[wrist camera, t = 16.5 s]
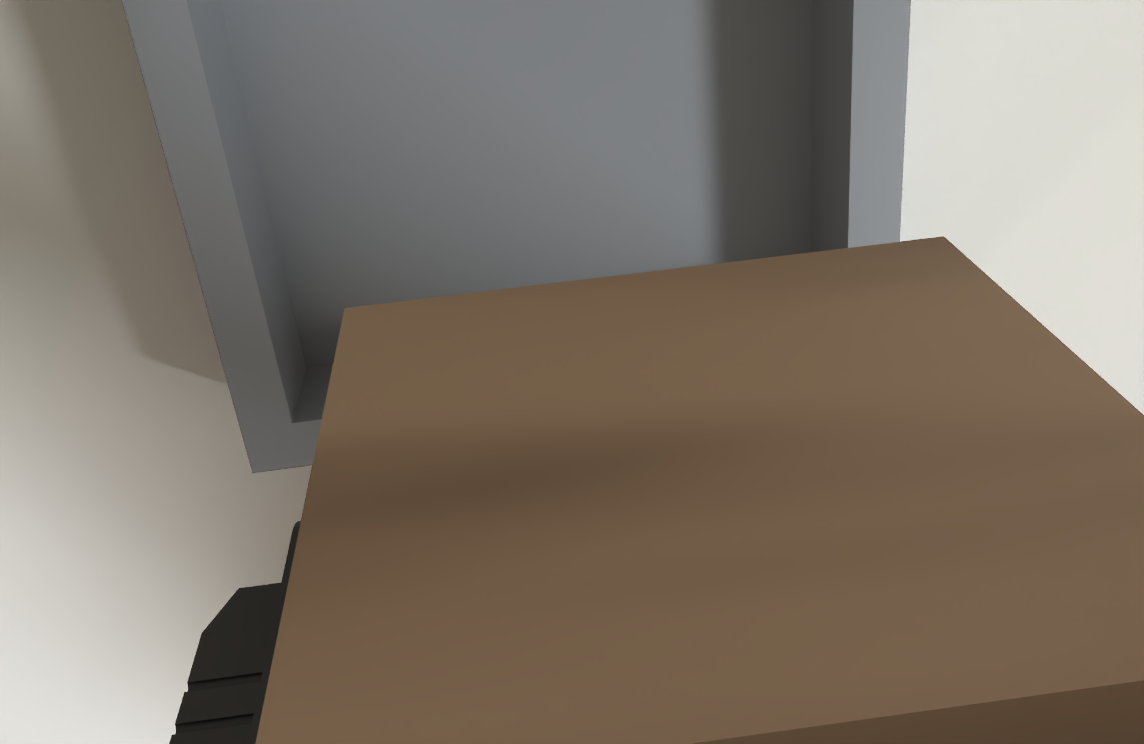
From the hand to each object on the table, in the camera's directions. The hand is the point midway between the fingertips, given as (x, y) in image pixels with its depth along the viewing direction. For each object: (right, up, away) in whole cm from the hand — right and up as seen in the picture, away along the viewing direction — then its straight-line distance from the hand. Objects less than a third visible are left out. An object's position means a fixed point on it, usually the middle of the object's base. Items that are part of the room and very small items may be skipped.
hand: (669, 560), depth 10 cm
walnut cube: (0, 0, 0) cm, 0 cm away
